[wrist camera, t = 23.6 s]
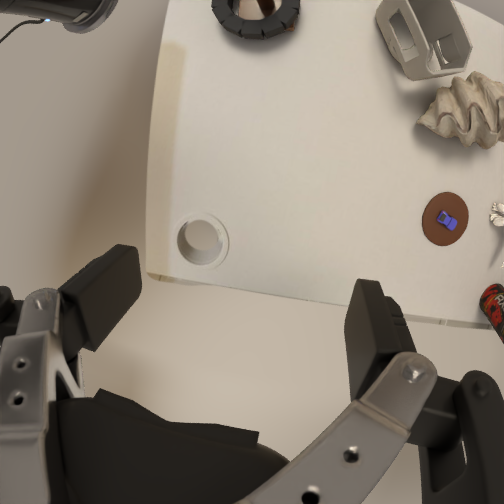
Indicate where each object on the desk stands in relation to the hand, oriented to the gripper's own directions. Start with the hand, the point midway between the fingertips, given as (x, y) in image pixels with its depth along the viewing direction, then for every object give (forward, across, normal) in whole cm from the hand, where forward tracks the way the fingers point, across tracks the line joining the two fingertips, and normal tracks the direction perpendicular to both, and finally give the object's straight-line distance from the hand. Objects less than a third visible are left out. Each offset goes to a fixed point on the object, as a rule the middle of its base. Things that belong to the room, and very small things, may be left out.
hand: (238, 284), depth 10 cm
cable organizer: (+30, -14, -19) cm, 38 cm away
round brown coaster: (+30, -24, +4) cm, 39 cm away
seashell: (+30, -23, -12) cm, 40 cm away
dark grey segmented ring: (+29, +5, -21) cm, 36 cm away
